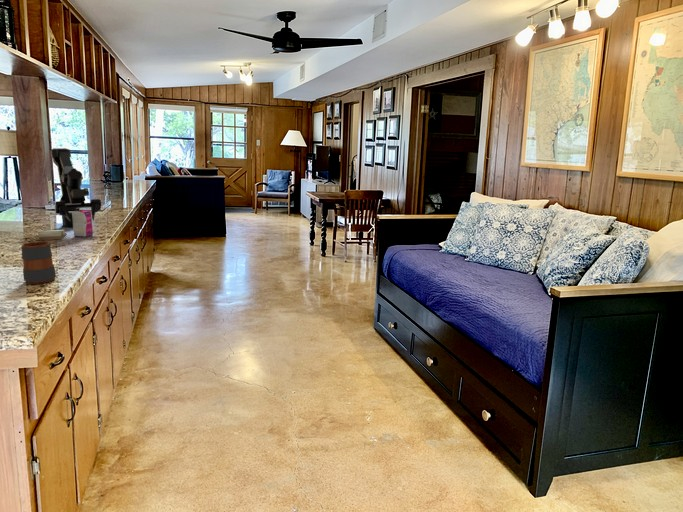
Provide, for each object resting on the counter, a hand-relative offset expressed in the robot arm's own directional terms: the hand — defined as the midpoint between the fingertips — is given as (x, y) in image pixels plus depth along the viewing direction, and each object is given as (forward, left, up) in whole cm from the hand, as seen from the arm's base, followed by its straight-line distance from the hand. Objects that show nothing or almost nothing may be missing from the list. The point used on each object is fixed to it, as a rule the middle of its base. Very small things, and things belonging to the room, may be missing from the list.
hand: (82, 220), depth 234 cm
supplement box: (-1, 0, -7) cm, 8 cm away
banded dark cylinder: (+37, -69, -7) cm, 78 cm away
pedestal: (-11, -7, -7) cm, 14 cm away
